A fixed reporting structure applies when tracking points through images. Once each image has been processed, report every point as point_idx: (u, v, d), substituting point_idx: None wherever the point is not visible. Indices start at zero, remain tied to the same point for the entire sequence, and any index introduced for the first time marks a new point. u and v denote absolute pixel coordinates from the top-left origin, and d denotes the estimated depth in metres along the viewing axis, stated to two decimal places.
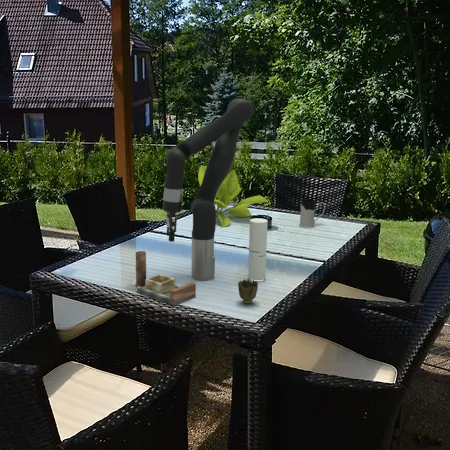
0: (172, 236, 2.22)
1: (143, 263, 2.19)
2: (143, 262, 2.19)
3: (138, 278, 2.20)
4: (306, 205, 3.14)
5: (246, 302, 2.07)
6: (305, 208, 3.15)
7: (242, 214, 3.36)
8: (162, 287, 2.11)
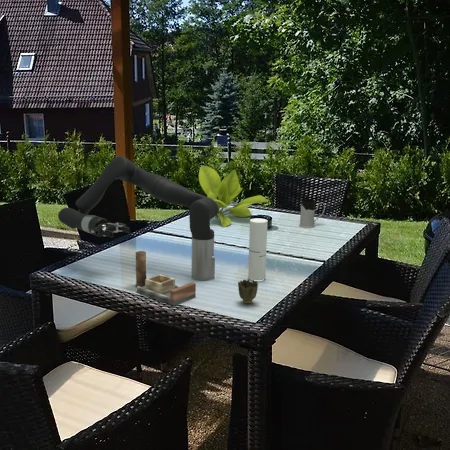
0: (106, 233, 2.22)
1: (143, 263, 2.19)
2: (143, 262, 2.19)
3: (138, 278, 2.20)
4: (306, 205, 3.14)
5: (246, 302, 2.07)
6: (305, 208, 3.15)
7: (243, 214, 3.36)
8: (162, 287, 2.11)
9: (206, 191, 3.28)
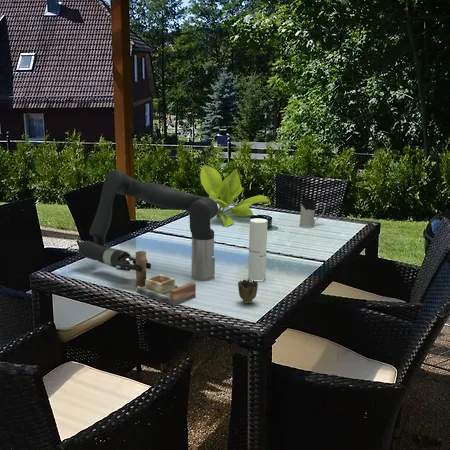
0: (135, 268, 2.18)
1: (143, 263, 2.19)
2: (143, 262, 2.19)
3: (138, 278, 2.20)
4: (306, 205, 3.14)
5: (246, 302, 2.07)
6: (305, 208, 3.15)
7: (244, 214, 3.37)
8: (162, 287, 2.11)
9: (208, 191, 3.28)
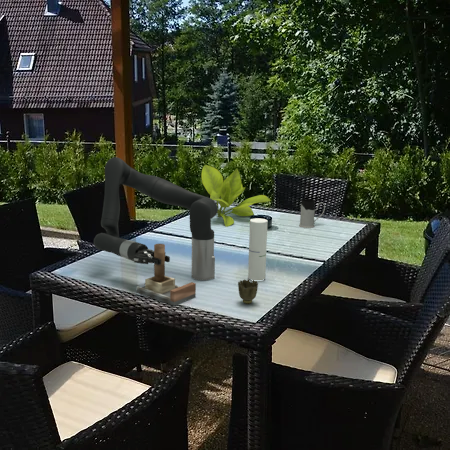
0: (154, 261, 2.11)
1: (162, 256, 2.12)
2: (162, 255, 2.11)
3: (156, 271, 2.13)
4: (306, 205, 3.14)
5: (246, 302, 2.07)
6: (305, 208, 3.15)
7: (245, 213, 3.37)
8: (162, 287, 2.11)
9: (209, 191, 3.29)
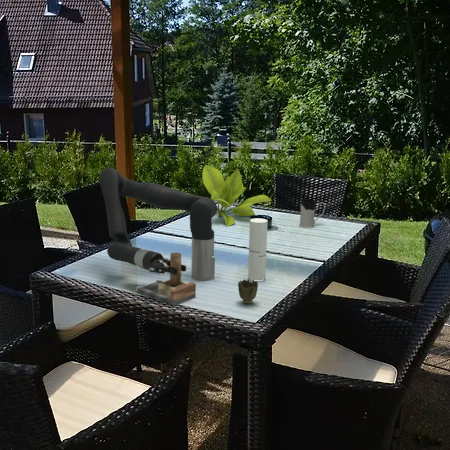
0: (170, 270, 2.06)
1: (178, 265, 2.07)
2: (178, 264, 2.07)
3: (172, 281, 2.08)
4: (306, 205, 3.14)
5: (246, 302, 2.07)
6: (305, 208, 3.15)
7: (246, 213, 3.38)
8: None
9: (210, 190, 3.29)
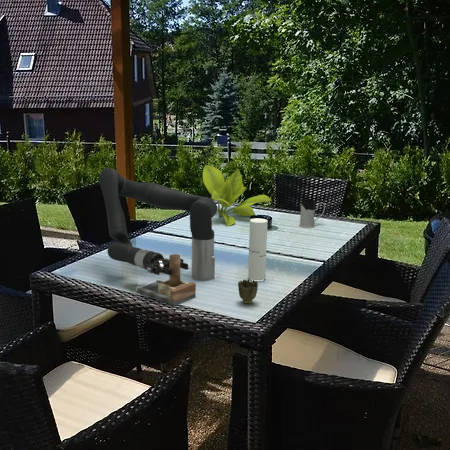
0: (165, 271, 2.05)
1: (177, 267, 2.07)
2: (177, 266, 2.07)
3: (172, 283, 2.09)
4: (306, 205, 3.14)
5: (246, 302, 2.07)
6: (305, 208, 3.15)
7: (246, 213, 3.38)
8: None
9: (210, 190, 3.29)
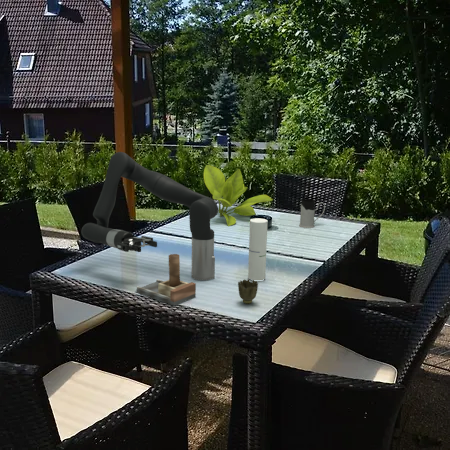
0: (134, 248, 2.14)
1: (177, 266, 2.08)
2: (177, 265, 2.08)
3: (172, 282, 2.09)
4: (306, 205, 3.14)
5: (246, 302, 2.07)
6: (305, 208, 3.15)
7: (247, 213, 3.38)
8: None
9: (211, 190, 3.30)
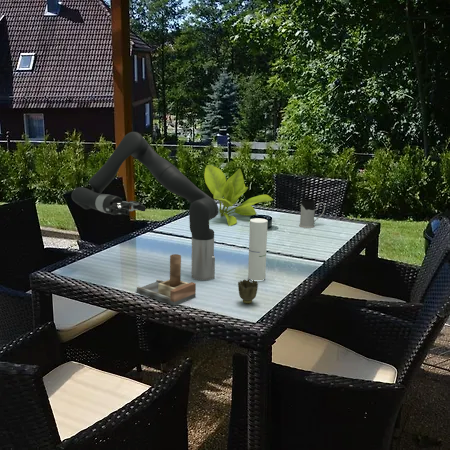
0: (122, 211, 2.16)
1: (178, 267, 2.07)
2: (178, 266, 2.07)
3: (172, 283, 2.09)
4: (306, 205, 3.14)
5: (246, 302, 2.07)
6: (305, 208, 3.15)
7: (248, 213, 3.39)
8: None
9: (212, 190, 3.30)
